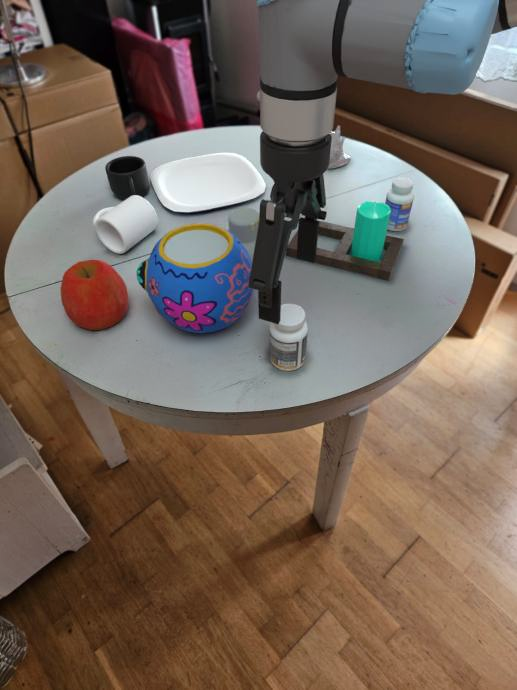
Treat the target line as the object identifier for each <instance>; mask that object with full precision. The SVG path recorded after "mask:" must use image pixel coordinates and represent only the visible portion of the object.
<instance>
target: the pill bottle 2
mask: <svg viewBox="0 0 517 690" xmlns="http://www.w3.org/2000/svg"><path fill="white" fill-rule="evenodd" d="M413 188H414V181H413V180H412V179H410V178H407V177H397V178H394V179H393V181H392V184H391V188H390V189H389V190H388V191H387V193H386V196H385V201H384V203H385V204H386V205H388V206H389V207H390V210H391V213H390V218H389V223H388V227H387V231H390V232H401V231H404V230H405V229H406V228H407V227H408V224H409V219H410V215H411V212H412V207H413V204H414V199H415V194H414V192H413Z"/></svg>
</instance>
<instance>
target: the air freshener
mask: <svg viewBox="0 0 517 690" xmlns="http://www.w3.org/2000/svg"><path fill="white" fill-rule="evenodd" d="M227 218H228V229H227V230H228V231H229V232H231V233H232V234H234V235H235V236H236V237H237V238H238V239H239V241H240V242H241V243H242V244H243V246H244V247H245V248H246V250H247V251H248V253H249V255H250V258H251V261H253V255H254V249H255V243H256V237H257V231H258V225H259V211H258V210H256V209H254V208H252V207H239V208H236V209H234V210H232V211H231V212H230V213H229V214H228V217H227Z"/></svg>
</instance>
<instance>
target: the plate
mask: <svg viewBox="0 0 517 690" xmlns="http://www.w3.org/2000/svg"><path fill="white" fill-rule="evenodd" d="M149 176H150V181H151V182H150V183H151V186H152V188H153V190H154V192H155V195H156V197H157V199H158V201H160V203H161V204H162V206H163V207H164V208H166V209H167V210H169V211H171V212H174V213H183V214H190V213H191V214H192V213H197V212H198V213H199V212H205V211H206V212H207V211H211V210H216V209H221V208H225V207H229V206H230V207H231V206H234V205H238V204H242V203H245V202H249V201H252V200H255V199H257V198H258V197H260V196H262V195H263V194H265V192H266V188H267V184H266V182H265V180H264V178H263V176H262V175H261V174H260V172H259V171H258V169H257V168H256V167H255V166H254V165H253V164H252V162H251V161H250V160H248V159H247V158H246V157H245V156H243V155H240V154H237V153H235V152H217V153H215V152H214V153H208V154H202V155H197V156H192V157H187V158H186V157H185V158H181V159H177V160H173V161H169V162H165V163H163V164H161V165H159V166H157V167H155V168H153V169H152V172H151V173H150V175H149Z"/></svg>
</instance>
